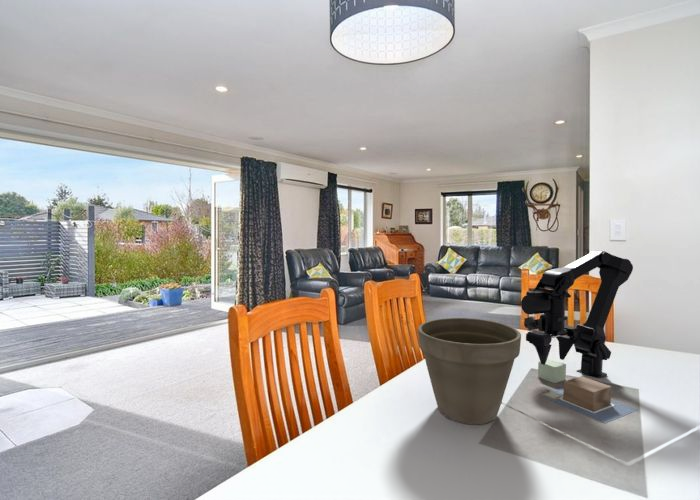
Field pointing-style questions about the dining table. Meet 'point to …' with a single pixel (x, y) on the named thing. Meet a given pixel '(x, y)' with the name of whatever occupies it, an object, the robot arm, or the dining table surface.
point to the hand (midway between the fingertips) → (552, 361)
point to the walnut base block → (587, 393)
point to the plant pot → (469, 365)
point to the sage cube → (552, 371)
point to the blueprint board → (601, 414)
